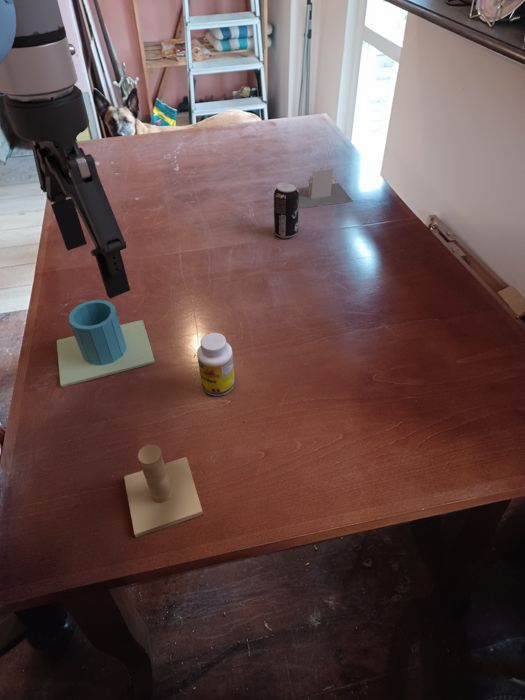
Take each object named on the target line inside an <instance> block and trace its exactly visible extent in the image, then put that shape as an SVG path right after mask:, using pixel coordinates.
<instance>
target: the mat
mask: <svg viewBox="0 0 525 700" xmlns="http://www.w3.org/2000/svg"><path fill="white" fill-rule="evenodd" d="M120 326H121V329H122V333H123V336H124V339H125V343H126V347H127V348H126V351H125V352H124V354H123V356H122V357H120V358H119V359H118V360H116V361H115V362H113V363H109V364H105V365H92V364H90V363H88V362H87V361H86V360H84V358H83V356H82V353H81V351H80V348H79V346H78V343H77V341H76V338H75V336H74V335H71V336H69V337H65V338H60V339H56V349H57V361H58V373H59V375H58V376H59V385H60V388H65V387H70V386H73V385H76V384H81V383H85V382H88V381H92V380H95V379H96V380H97V379H99V378H104V377H107V376H111V375H115V374H119V373H123V372H127V371H130V370H134V369H137V368H142V367H146V366H150V365H154V364H156V360H155V357H154V353H153V349H152V347H151V343H150V339H149V337H148V333H147V329H146V326H145V323H144V319H140V320H135V321H131V322H127V323H123V324H120Z"/></svg>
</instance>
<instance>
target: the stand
mask: <svg viewBox="0 0 525 700" xmlns="http://www.w3.org/2000/svg"><path fill="white" fill-rule="evenodd" d="M137 459H138V462H139V465H140V468H141V470H139V471H136V472H134V473H130V474H127V475H124V476H123V479H124V486H125V490H126V496H127V501H128V506H129V513H130V517H131V523H132V528H133V529H132V530H133V534H134V537H135V538H140V537H143V536H145V535H148V534H151V533H154V532H158V531H160V530H163V529H165V528H168V527H172V526H174V525H177V524H180V523H183V522H186V521H188V520H192V519H194V518H195V519H196V518H198V517H200V516H203V515H204V512H203V507H202V505H201V500H200V498H199V495H198V492H197V487H196V484H195V481H194V477H193V474H192V471H191V467H190V464H189V460H188V457H187V456H185V457H181V458H178V459H175V460H171V461H168V462H165V461H164V458H163V454H162V450H161V448H160V447H159V446H158V445H157V444H153V443H152V444H146V445H144V446H142V447H141V448H140V449H139V450H138V453H137Z"/></svg>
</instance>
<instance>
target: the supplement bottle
mask: <svg viewBox="0 0 525 700" xmlns="http://www.w3.org/2000/svg"><path fill="white" fill-rule="evenodd" d="M196 354H197V355H196V358H197V363H198V368H199V369H198V370H199V376H200V377H199V378H200V382H201V387H202V389H203V391H204V392H205V393H207V395H211V396H215V397H219V396H225V395H227V394H228V393H230V392H231V391H232V390H233V388H234V386H235V383H236V382H235V381H236V379H235V366H234V354H233V348H232V346H231V345H230V343H229V342H227V338H226V337H225V336H224V335H223V334H221V333H219V332H210V333H207V334H205V335H203V337H202V338H201V339H200V345H199V347H198V348H197V352H196Z"/></svg>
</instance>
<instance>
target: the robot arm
mask: <svg viewBox="0 0 525 700" xmlns="http://www.w3.org/2000/svg"><path fill="white" fill-rule="evenodd" d="M65 28H66V27H65V24H64V21H63V17H62V12H61V9H60V5H59V1H58V0H0V92H1V93H2V94H5V95H4V96H3V97H4V98H3V100H2V101H3V105H4V107H5V111H6V113H7V115H8V118H9V119H8V120H9V121H10V124H11V127H12V129H13V132H14V134H15V135H16V136H17V137H18V138H20V139H21V140H24V141H28V142H30V146H31V149H32V154H33V159H34V163H35V168H36V173H37V176H38V177H37V178H38V181H39V185H40V186H39V187H40V190H41V191H42V192H43V193H46V198H47V200H48V201H49V202H50V203H51V204H50V206H51V209H52V211H53V215H54V217H55V221H56V223H57V226H58V228H59V229H58V230H59V232H60V235H61V237H62V240H63V243H64V247H65V249H66V250H67V251H72V250H74V249H77V248H80V247H82V246H86V245H88V243H87V240H86V236H85V233H84V230H83V227H82V223H83V224H84V227H85V229H86V231H87V233H88V235H89V237H90V240H91V241H92V243H93V245H94V248H93V249H91V251H90V254H91V256H92V257H95V260H96V263H97V267H98V270H99V274H100V276H101V280H102V282H103V286H104V290H105V292H106V296H107V297H108V299H113V298H116V297H118V296H120V295H122V294H125V293H128V292H130V291H131V288H130V287H131V286H130V284H129V280H128V276H127V272H126V269H125V265H124V264H125V263H124V261H123V256H122V253H121V251H123V250H126V249H127V248H128V247H127V246H128V245H127V242H126V241H125V238H124V236H123V234H122V231H121V229H120V226H119V223H118V221H117V219H116V215H115V213H114V211H113V208H112V206H111V203H110V201H109V198H108V196H107V194H106V191H105V189H104V187H103V184H102V181H101V179H100V176H99V173H98V169H97V165H96V163H95V162H96V161H95V158H94V157H93V156H92V154H91V153H89V154H86V153H85V151H84V149H83V148H82V147H79V144H78V142H77V137H78V136H79V135H80V134H82V133H84V132H85V131H86V130H87V129H88V127H89V126H90V125H89V124H90V119H89V114H88V111H87V107H86V103H85V100H84V96H83V95H84V94H83V92H82V90H81V89H80V88H79V86H77V85H76V83H77V82H78V79H79V78H78V74H77V70H76V67H75V63H74V60H73V56H74V55H76V47H75V46H74V44H73V43H69V39H68V35H67V31H66V29H65ZM67 198H68V199H67ZM80 219H81V220H82V223H81V220H80Z"/></svg>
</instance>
